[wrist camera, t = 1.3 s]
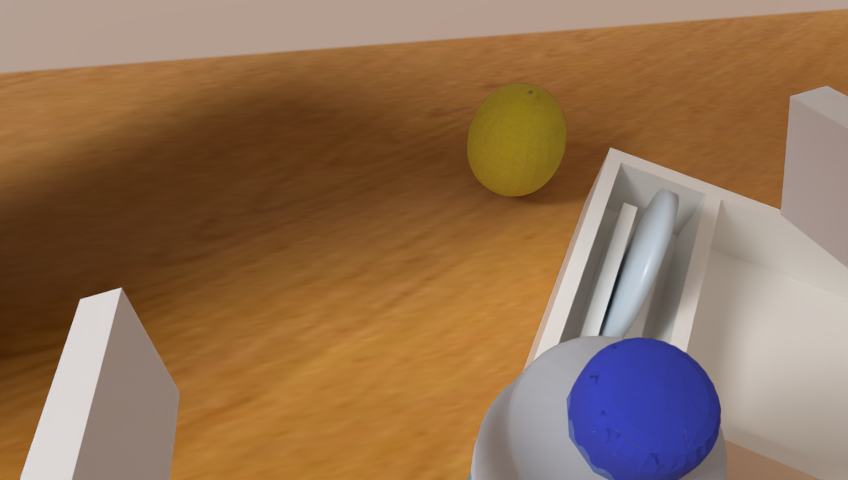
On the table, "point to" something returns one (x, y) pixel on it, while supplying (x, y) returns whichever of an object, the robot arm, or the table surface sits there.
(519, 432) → the bottle
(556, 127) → the lemon
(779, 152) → the table surface
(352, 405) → the table surface
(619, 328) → the divided tray
